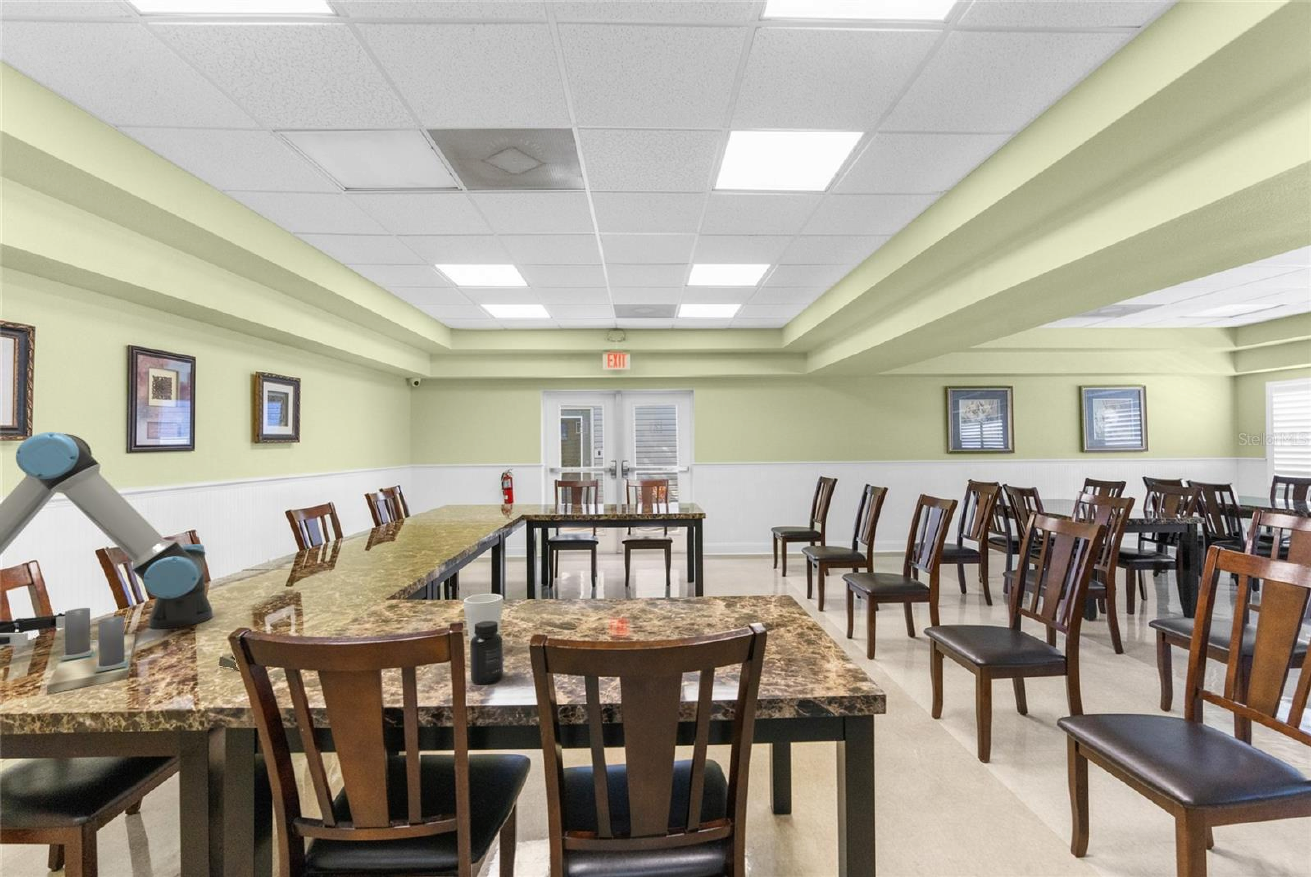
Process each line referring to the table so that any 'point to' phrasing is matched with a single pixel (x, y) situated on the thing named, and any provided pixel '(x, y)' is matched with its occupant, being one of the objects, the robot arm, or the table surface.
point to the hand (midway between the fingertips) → (56, 630)
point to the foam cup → (482, 610)
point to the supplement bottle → (486, 654)
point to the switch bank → (89, 669)
